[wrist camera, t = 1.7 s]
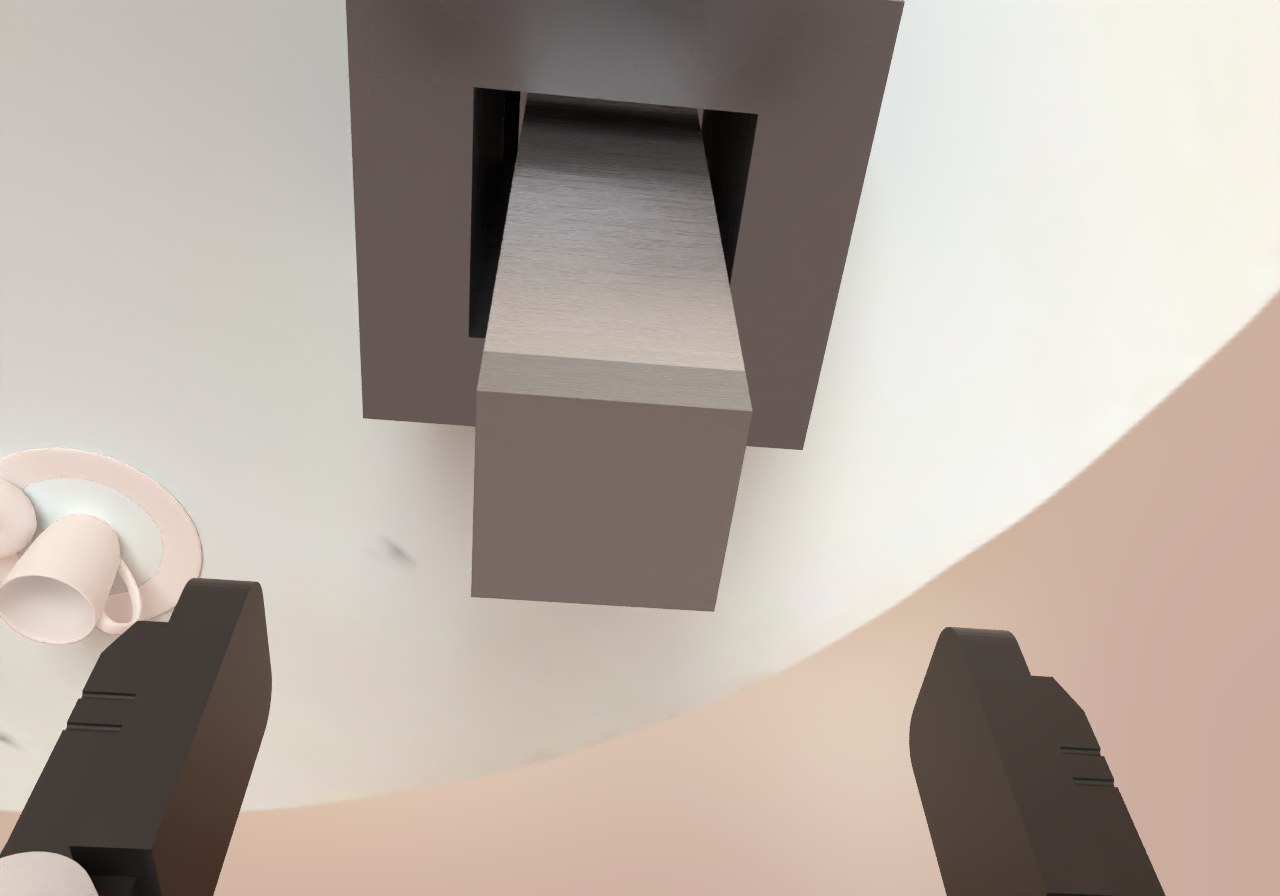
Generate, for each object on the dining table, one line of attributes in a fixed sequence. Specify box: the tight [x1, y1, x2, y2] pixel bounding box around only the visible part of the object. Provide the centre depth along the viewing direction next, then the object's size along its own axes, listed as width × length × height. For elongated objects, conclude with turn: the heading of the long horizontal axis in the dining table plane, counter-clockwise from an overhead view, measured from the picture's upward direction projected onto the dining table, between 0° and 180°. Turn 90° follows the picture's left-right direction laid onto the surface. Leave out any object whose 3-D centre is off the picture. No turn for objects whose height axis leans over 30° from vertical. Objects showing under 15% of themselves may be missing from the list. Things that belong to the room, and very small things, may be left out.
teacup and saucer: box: [0, 448, 202, 644], centre depth 39 cm, size 9×8×4 cm
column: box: [471, 92, 753, 612], centre depth 24 cm, size 4×4×19 cm
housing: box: [346, 0, 904, 450], centre depth 27 cm, size 12×12×11 cm
